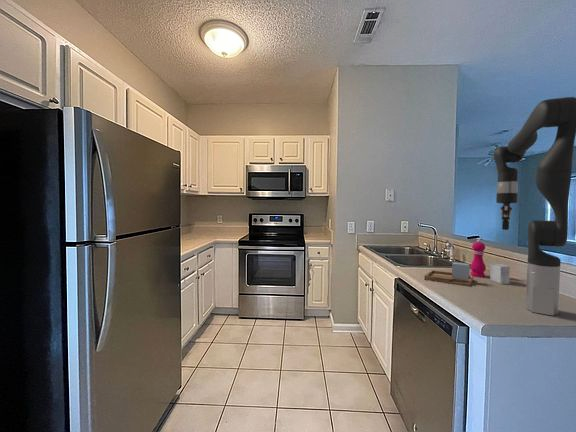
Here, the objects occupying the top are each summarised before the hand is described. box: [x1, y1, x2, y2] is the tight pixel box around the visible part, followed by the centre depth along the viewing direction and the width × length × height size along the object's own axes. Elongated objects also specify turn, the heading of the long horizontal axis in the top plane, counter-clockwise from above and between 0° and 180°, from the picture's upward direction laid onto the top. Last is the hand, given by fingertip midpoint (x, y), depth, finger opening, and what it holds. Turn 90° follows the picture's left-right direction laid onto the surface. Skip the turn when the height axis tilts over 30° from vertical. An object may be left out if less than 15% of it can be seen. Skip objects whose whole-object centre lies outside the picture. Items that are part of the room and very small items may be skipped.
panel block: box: [451, 261, 471, 280], centre depth 152 cm, size 4×7×8 cm, turn 53°
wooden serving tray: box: [423, 270, 474, 287], centre depth 156 cm, size 16×20×2 cm
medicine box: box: [489, 263, 511, 285], centre depth 152 cm, size 8×4×9 cm, turn 179°
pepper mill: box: [469, 238, 487, 278], centre depth 164 cm, size 7×7×20 cm
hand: (505, 229), depth 133 cm, fingers open, 8 cm apart
